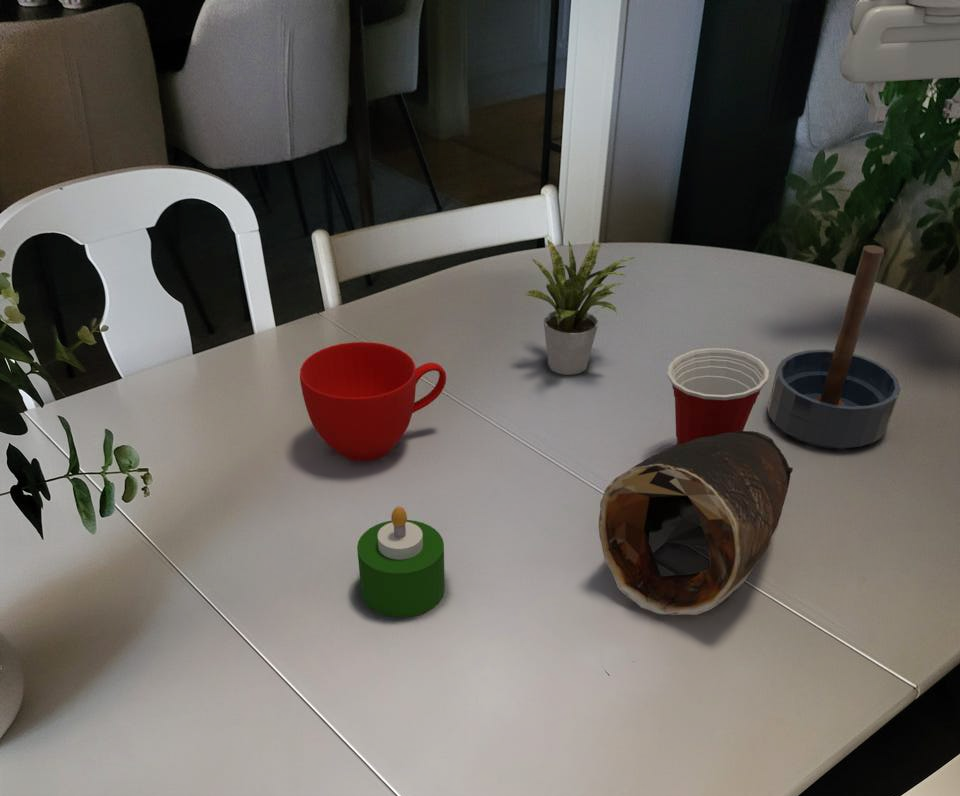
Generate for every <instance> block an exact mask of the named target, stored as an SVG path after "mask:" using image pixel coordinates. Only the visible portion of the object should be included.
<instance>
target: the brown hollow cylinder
mask: <svg viewBox="0 0 960 796" xmlns="http://www.w3.org/2000/svg"><path fill="white" fill-rule="evenodd" d="M793 471H794V467H791V466H789V463H788V460H787V459H786V456H785V454H784V453H782V451H781V449H780V448H779V447H778V446H777V444H776V443H775V441H774V440H773V438H771V437H770V436H769V435H766V434H763V433H761V432H759V431H753V430H743V431H736V432H732V433H723V434H718V435H715V436H709V437H701V438H697V439H694V440H691V441H689V442H687V443H684V444H680V445H677V444H676V445H673V446H671V447H668V448H665V449H664V450H662V451H661V452H658V453H656V454H654V455H652V456H650V457H648V458H646V459H644V460H643V461H641V462H639V463H637V464H636V465H634V466H633V467H631V468H630V469H628V470H627V471H625V472H623V473H621V474H620V475H618V476H617V477H615V478H614V479H613V480H612V481H611V482H610V483H609V484H608V486H606V487H605V489H604V492H603V495H602V498H601V500H600V502H599V503H600V505H599V508H600V511H599V514H598V515H599V516H598V534H599V536H598V537H599V540H600V544H601V549H602V553H603V558H604V560H605V562H606V565H607V567H608V568H609V571H610V572H611V574H612V576H613V578H614V581H615V584H616V586H617V588H618V589H619V590H620V592H621V593H622V594H623V595H624V596H625V597H627V598H628V599H630V600H632V602H634V603H635V604H636V605H638V607H640V608H641V609H645V610H648V611H650V612H653V613H655V614H657V615H671V616H677V615H678V616H679V615H690V616H691V615H692V616H696V615H700V614H704V613H705V612H708V611H710V610H712V609H714V608H715V607H717V606H718V605H719V604H721V603H722V602H724V601H725V600H726V599H727V598H728V597H729V596H730V595H731V594H732V593H733V592H735V591H736V590H737V589H739V588H740V586H742V585H743V584H744V583H745V582H746V581H747V579H748V576H749V575H750V573H751V572H752V571H753V569H754V567H755V566H756V565H757V564H758V562H760V560H761V558H762V557H763V555H764V553H765V552H766V550H767V548H768V547H769V546H770V543H771V539H772V537H773V535H774V533H775V531H776V530H777V528H778V524H779V522H780V518H781V516H782V513H783V507H784V504H785V501H786V497H787V494H788V489H789V486H790V480H791V474H792V473H793ZM665 542H668V543H673V544H677V545H683V546H684V545H685V546H687V547H688V546H689V547H694V548H699V549H704V550H708V556H709V563H710V566H708V567H707V568H706V569H704V570H702V571H701V572H692V573H682V574H676V573H675V572H673V571H671V570H670V569H668V568H666V567H665V566H663V565H661V563H658V562H657V560H656V558H655V555H654V553H655V552H656V551H657V550H659V548H660V547H661V546H662V545H664V543H665Z"/></svg>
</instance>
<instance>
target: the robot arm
mask: <svg viewBox="0 0 960 796" xmlns="http://www.w3.org/2000/svg"><path fill="white" fill-rule="evenodd" d="M849 27H850V29H849V31H848V34H847V37H846V39H845V43H844V46H843V50H842V54H841V58H840V62H839V66H838V68H839V72H840V74H841V76H842V78H843V79H845V80H846V81H847V82H850V83H851V84H865V86H864V90H865V94H866V98H867V100H868V103H869V109H868V113H867V121H868V122H869V123H871V124H881V123H885V121H886V119H887V117H886V115H887V114H888V110H889V106H887V105H885V104H884V103H882V101H881V98H880V94H879V93H882V92H884V90H885V86H886V82H900V81H901V82H903V81H919V80H920V81H921V80H935V79H937V80H938V79H953V78H954V79H955V78H960V0H855V2H854V3H853V5H852V11H851V15H850V21H849ZM958 83H960V79H959V80H958ZM943 106H944V108H943V109H942V113H941V114H942V117H943V118H945V119H948V120H950V119H959V118H960V87H959V88H958V90H957V91H956V93H955V94H954V95H953V97H952V98H950V99H949V98H948V99H945V101H944V105H943Z"/></svg>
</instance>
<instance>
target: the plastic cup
mask: <svg viewBox="0 0 960 796" xmlns="http://www.w3.org/2000/svg"><path fill="white" fill-rule="evenodd" d="M769 371H770V370H769V368H768V367H767V364H765V363H764V361H763V360H762V359H760V358H758V357H756V356H754V355H753V354H751V353H749V352H745V351H741V350H737V349H734V348H720V347H707V348H700V349H694V350H691V351H688V352H686V353H683V354H681V355H678V356H677V357H675V358H674V359H673V361H671V362H670V363H669V364H668V369H667V377H668V379H669V381H670V383H671V385H672V390H673V397H674V410H675V411H674V413H675V436H676V445H680V444H684V443H687V442H689V441H691V440H694V439H697V438H701V437H709V436H715V435H718V434H723V433H732V432H736V431H744V430H745V427H746V425H747V422H748V420H749V417H750V415H751V412H752V410H753V406H754V405H755V404H756V402H757V399H758V396H759V395H760V393H761V390H762V389H763V387H764V386H765V385H766V384H767V382H768V380H769Z"/></svg>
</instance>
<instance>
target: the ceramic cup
mask: <svg viewBox="0 0 960 796" xmlns="http://www.w3.org/2000/svg"><path fill="white" fill-rule="evenodd" d="M433 371H434V372H438V379H437V382H436V383H435V386H434V387H433V388H432V390H431V391H429V393H427V394H426V395H424V396H423V397H421V398H420V399H417V400H416V391H417V390H416V389H417V388H416V387H417V384H418V382H419V380H420V379H421V378H422V377H423V376H424V375H426V374H428V373H429V372H433ZM299 381H300V387H301V392H302V398H303V402H304V404H305V405H304V406H305V408H306V412H307V414H308V417H309V420H310V422H311V424H312V426H313V428H314V429H315V432H316V433H317V434H318V436H319V437H320V438H321V439H322V441H324V443H326V445H328V446H329V447H330V448H331V449H332V450H334V451H335V452H337V453H338V454H339V455H340V456H341V457H343V458H344V459H347V460H350V461H355V462H356V461H357V462H367V461H368V462H370V461H374V460H378V459H380V458H383V457H384V456H386V455H388V454H389V453H390V452H391V450H392V448H393V447H395V446H396V445H397V444H398V442H399V441H400V440H401V439H402V437H403V436H404V434H405V433H406V431H407V429H408V427H409V425H410V423H411V419H412V415H413V414H414V413H416V412H417V411H420V410H422V409H424V408H425V407H427V406H428V405H430V404H431V403H433V402H434V401H435V400H437V398H438V397H439V396H440V395H441V394H442V392H443V390H444V388H445V386H446V383H447V373H446V371H445V370H444V367H443V366H442V365H440V364H439V363H437V362H426V363H423V364H421V365H419V366H418V367H416V363H415V362H414V359H413V358H412V357H411V356H410V355H409V354H408V353H406V352H405V351H403V350H401V349H400V348H397V347H395V346H392V345H389V344H385V343H379V342H370V341H369V342H368V341H354V342H353V341H352V342H346V343H345V342H344V343H339V344H334V345H331V346H328V347H325V348H322V349H320V350H317V351H316V352H314V353H312V354H311V355H310V356H308V357H307V358H306V359H305V360H304V362H303V363H302V365H301V367H300V369H299Z"/></svg>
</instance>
